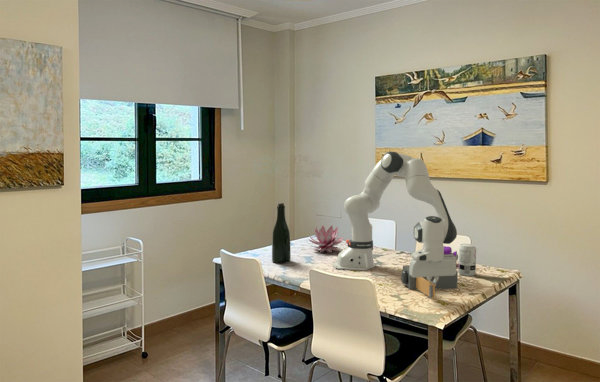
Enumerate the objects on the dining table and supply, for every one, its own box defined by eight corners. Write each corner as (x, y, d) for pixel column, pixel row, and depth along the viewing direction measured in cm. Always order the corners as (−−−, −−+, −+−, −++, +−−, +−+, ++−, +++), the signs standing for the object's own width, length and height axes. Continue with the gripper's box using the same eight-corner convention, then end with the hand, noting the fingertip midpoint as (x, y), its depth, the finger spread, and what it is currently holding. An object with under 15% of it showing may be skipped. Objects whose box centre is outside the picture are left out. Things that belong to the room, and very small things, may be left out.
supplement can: (455, 272, 250) (456, 243, 249) (471, 272, 251) (472, 243, 249) (462, 276, 242) (463, 247, 241) (478, 276, 243) (479, 246, 241)
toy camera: (459, 267, 260) (459, 249, 259) (432, 266, 262) (433, 248, 261) (456, 262, 270) (457, 245, 269) (431, 261, 273) (431, 244, 272)
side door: (413, 287, 221) (414, 275, 220) (417, 287, 221) (417, 274, 220) (430, 299, 205) (431, 285, 204) (434, 298, 205) (434, 285, 205)
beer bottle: (282, 264, 266) (282, 204, 263) (268, 261, 272) (267, 203, 269) (294, 260, 274) (294, 202, 271) (280, 258, 281) (279, 201, 277)
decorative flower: (301, 251, 299) (301, 226, 297) (325, 245, 313) (325, 222, 312) (326, 257, 283) (326, 231, 281) (350, 251, 297) (351, 227, 296)
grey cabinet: (406, 289, 221) (406, 272, 221) (399, 282, 233) (399, 265, 232) (457, 288, 223) (457, 271, 222) (447, 281, 235) (448, 264, 234)
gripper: (452, 252, 213) (452, 283, 214) (407, 254, 210) (407, 285, 212) (459, 255, 207) (458, 287, 208) (413, 257, 204) (412, 289, 205)
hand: (432, 286), depth 210 cm, fingers closed
